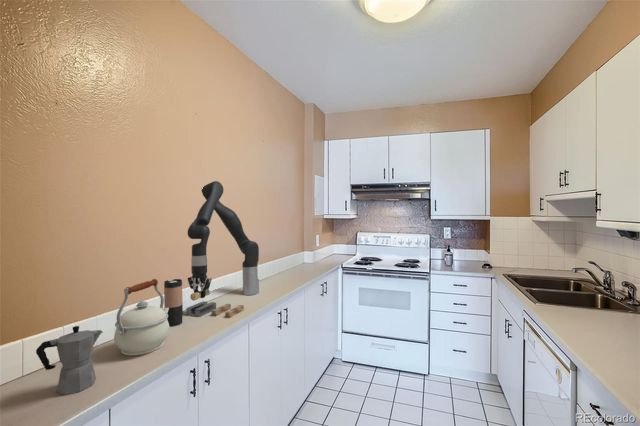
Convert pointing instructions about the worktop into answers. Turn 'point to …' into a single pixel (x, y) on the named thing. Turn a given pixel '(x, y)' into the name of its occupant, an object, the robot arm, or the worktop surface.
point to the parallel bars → (228, 313)
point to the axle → (198, 295)
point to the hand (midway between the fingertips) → (199, 297)
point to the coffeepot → (72, 359)
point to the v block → (200, 309)
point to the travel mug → (173, 301)
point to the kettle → (141, 324)
